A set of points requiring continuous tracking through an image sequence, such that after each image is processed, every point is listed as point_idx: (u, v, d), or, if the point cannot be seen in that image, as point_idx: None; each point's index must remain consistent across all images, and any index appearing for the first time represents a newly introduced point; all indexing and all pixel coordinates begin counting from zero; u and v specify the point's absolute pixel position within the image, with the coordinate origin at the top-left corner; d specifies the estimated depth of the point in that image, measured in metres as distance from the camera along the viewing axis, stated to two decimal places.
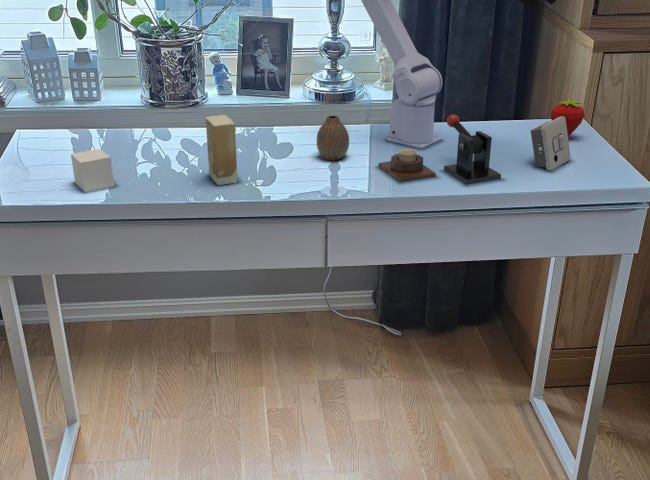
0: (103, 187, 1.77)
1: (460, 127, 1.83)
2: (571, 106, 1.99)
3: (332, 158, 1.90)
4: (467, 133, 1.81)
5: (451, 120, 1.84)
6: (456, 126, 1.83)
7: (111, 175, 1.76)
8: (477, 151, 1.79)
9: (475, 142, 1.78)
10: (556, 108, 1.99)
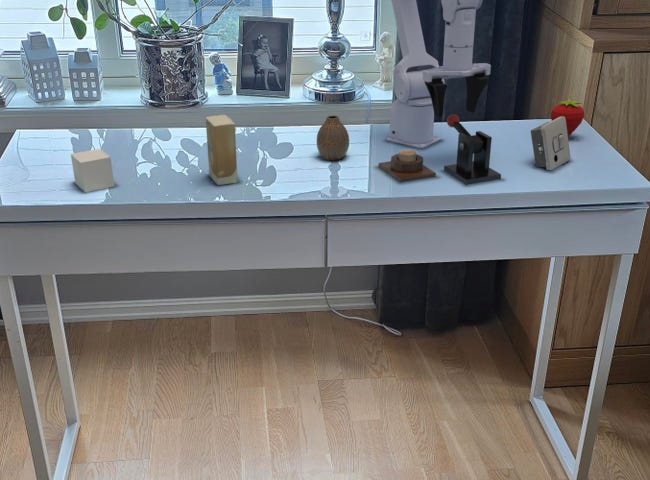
0: (103, 187, 1.77)
1: (460, 127, 1.83)
2: (571, 106, 1.99)
3: (332, 158, 1.90)
4: (467, 133, 1.81)
5: (451, 120, 1.84)
6: (456, 126, 1.83)
7: (111, 175, 1.76)
8: (477, 151, 1.79)
9: (475, 142, 1.78)
10: (556, 108, 1.99)
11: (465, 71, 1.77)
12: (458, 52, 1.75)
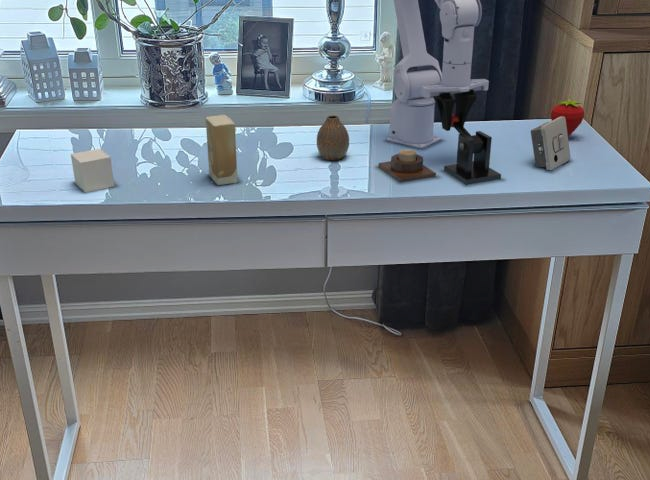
0: (103, 187, 1.77)
1: (460, 127, 1.83)
2: (571, 106, 1.99)
3: (332, 158, 1.90)
4: (467, 133, 1.81)
5: (451, 120, 1.84)
6: (456, 126, 1.83)
7: (111, 175, 1.76)
8: (477, 151, 1.79)
9: (475, 142, 1.78)
10: (556, 108, 1.99)
11: (463, 87, 1.78)
12: (456, 69, 1.77)
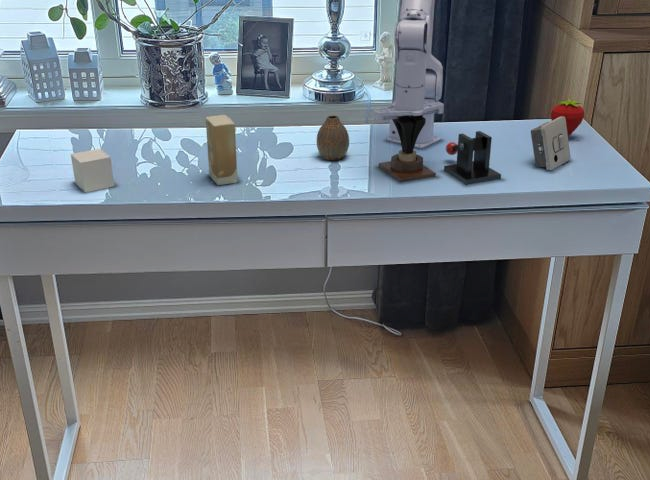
0: (103, 187, 1.77)
1: None
2: (571, 106, 1.99)
3: (332, 158, 1.90)
4: None
5: (449, 146, 1.87)
6: (455, 147, 1.85)
7: (111, 175, 1.76)
8: (479, 147, 1.78)
9: (473, 138, 1.78)
10: (556, 108, 1.99)
11: (416, 111, 1.75)
12: (409, 92, 1.73)
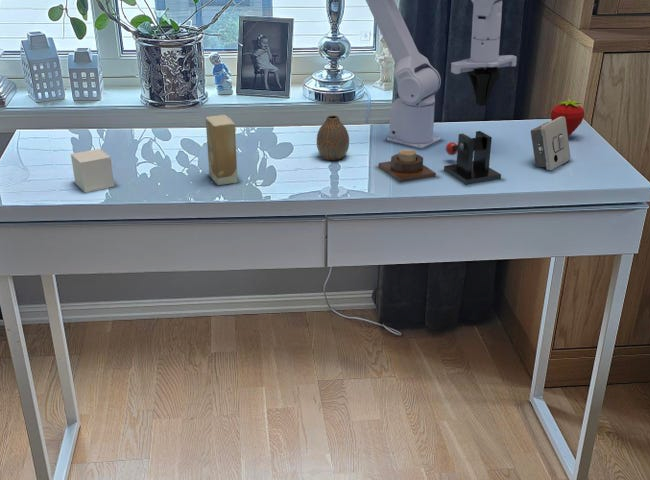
0: (103, 187, 1.77)
1: None
2: (571, 106, 1.99)
3: (332, 158, 1.90)
4: None
5: (449, 146, 1.87)
6: (455, 147, 1.85)
7: (111, 175, 1.76)
8: (479, 147, 1.78)
9: (473, 138, 1.78)
10: (556, 108, 1.99)
11: (492, 63, 1.82)
12: (485, 44, 1.81)
